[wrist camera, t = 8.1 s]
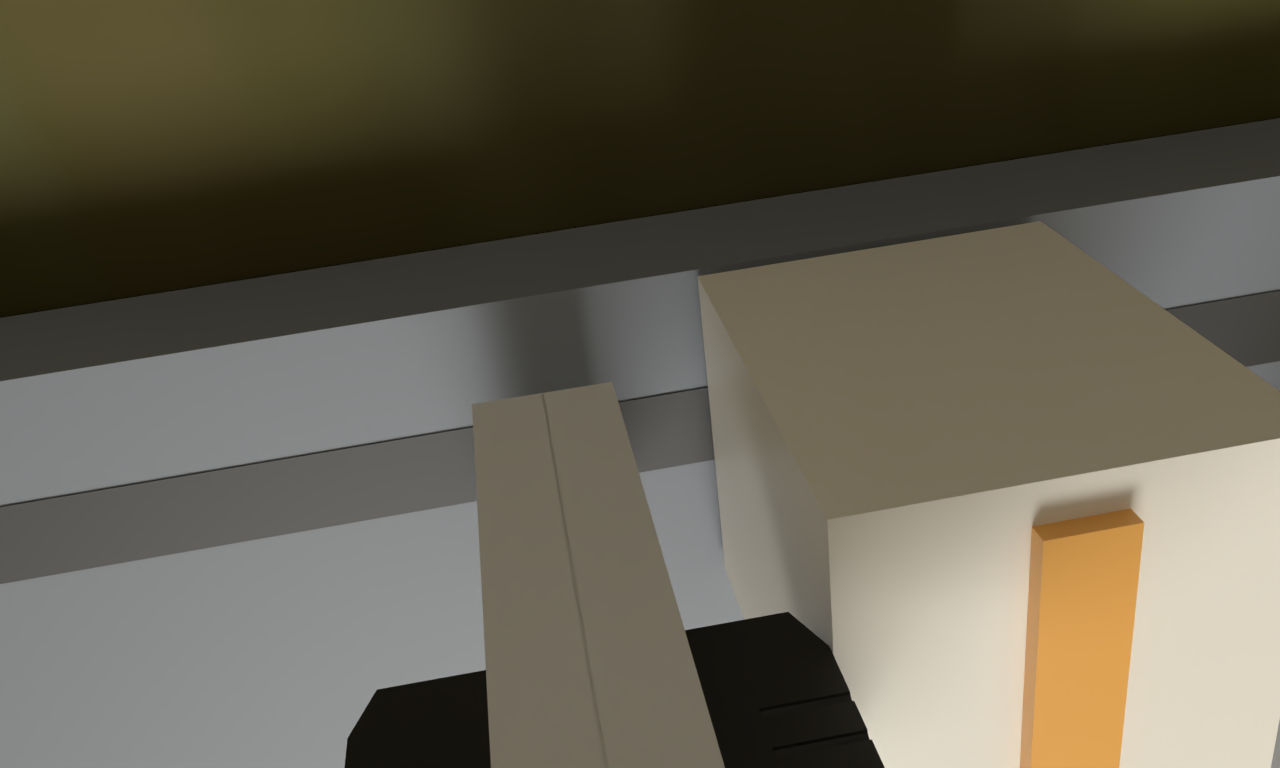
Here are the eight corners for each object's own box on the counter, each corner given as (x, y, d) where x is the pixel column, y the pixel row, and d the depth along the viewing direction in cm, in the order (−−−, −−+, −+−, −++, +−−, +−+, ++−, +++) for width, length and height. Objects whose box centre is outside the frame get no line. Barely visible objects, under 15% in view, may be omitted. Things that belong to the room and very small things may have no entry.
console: (-446, 388, 14) (-576, 475, 12) (1962, 11, 17) (2144, 37, 15) (-109, 949, 19) (-167, 1072, 17) (1739, 583, 21) (1859, 656, 19)
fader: (697, 276, 13) (836, 535, 9) (1040, 220, 14) (1350, 441, 9) (725, 567, 15) (850, 910, 10) (1026, 512, 15) (1277, 820, 11)
